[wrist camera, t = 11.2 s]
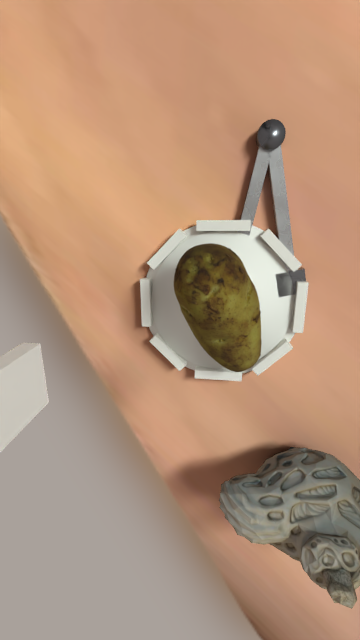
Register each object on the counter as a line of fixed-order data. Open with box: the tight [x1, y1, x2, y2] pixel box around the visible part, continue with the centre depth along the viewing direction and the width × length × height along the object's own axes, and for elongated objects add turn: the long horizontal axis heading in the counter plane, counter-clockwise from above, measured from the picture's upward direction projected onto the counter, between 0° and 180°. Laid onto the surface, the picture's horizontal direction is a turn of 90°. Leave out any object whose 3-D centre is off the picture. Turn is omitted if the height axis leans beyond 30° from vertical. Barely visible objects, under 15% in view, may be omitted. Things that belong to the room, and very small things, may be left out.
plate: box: [140, 220, 308, 381], centre depth 34 cm, size 17×17×2 cm
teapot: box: [219, 447, 360, 609], centre depth 32 cm, size 21×12×15 cm, turn 77°
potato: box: [174, 243, 262, 372], centre depth 30 cm, size 8×13×8 cm, turn 1°
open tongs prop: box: [238, 119, 306, 297], centre depth 31 cm, size 16×9×1 cm, turn 0°
